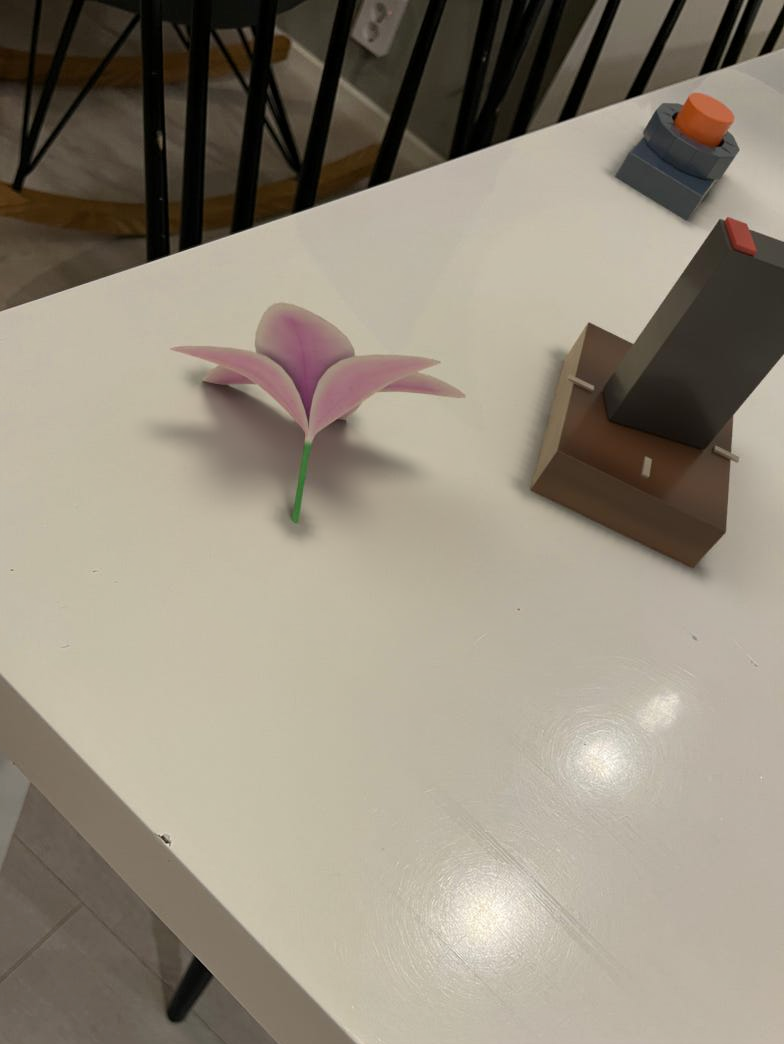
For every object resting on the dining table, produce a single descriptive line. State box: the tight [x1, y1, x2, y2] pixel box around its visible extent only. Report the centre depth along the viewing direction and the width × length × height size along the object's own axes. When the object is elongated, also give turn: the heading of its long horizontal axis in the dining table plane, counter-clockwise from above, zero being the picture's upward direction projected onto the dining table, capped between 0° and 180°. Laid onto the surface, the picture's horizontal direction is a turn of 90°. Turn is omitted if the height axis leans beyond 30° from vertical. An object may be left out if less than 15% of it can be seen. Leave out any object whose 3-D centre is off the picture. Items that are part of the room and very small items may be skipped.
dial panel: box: [530, 321, 740, 569], centre depth 56 cm, size 12×10×3 cm
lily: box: [169, 302, 467, 524], centre depth 46 cm, size 12×12×10 cm
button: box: [674, 92, 735, 147], centre depth 77 cm, size 4×4×2 cm
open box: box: [603, 216, 784, 449], centre depth 51 cm, size 6×2×10 cm, turn 87°
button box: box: [614, 102, 741, 222], centre depth 79 cm, size 10×6×4 cm, turn 150°
